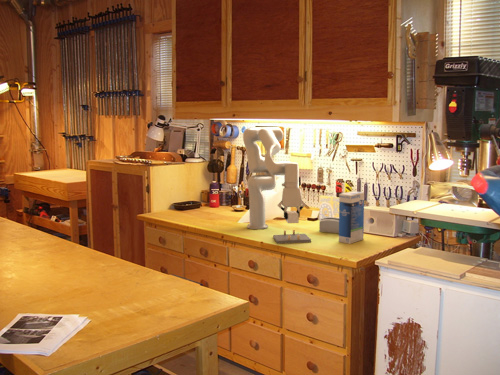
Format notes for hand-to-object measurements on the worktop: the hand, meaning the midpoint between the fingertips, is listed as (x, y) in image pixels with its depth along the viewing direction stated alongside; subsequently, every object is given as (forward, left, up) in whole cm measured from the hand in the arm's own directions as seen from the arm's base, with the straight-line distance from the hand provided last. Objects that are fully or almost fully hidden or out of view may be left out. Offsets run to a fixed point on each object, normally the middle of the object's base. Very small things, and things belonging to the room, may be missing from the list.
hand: (291, 218), depth 274 cm
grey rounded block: (-15, +27, -12) cm, 34 cm away
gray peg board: (0, 0, -12) cm, 12 cm away
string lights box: (+7, +31, -12) cm, 34 cm away
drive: (+1, 0, -2) cm, 2 cm away
